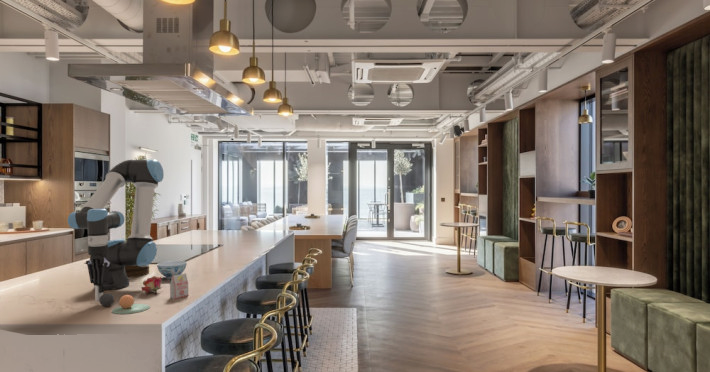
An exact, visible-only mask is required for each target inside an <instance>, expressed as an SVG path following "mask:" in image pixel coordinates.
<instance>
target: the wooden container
mask: <svg viewBox="0 0 710 372" xmlns="http://www.w3.org/2000/svg"><path fill="white" fill-rule="evenodd" d="M125 271H126V274H127V276H128V278H133V277H134V278H135V277H141V276H147V275H148V274H150V264H149V265H143V266H125Z"/></svg>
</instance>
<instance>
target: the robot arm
mask: <svg viewBox="0 0 710 372" xmlns="http://www.w3.org/2000/svg"><path fill="white" fill-rule="evenodd" d="M163 179H164V169H163V166H162V164H161V162H160V161H159V160H158V159H150V158H148V159H127V160H124V161H121V162H119V163H118V164H116V165H115V166H113V167H112V168H111V169H109V171H108V172H107V173H106V174H105V180H103V182H101V184H100V186H99V187H97V189H96V191H94V193H93V194H92V195H91V196H90V197H89V199H88V200H87V201H86V203H85V204H84V205H83V206H82V207H81V208H80V210H79V211H75V212H74V211H73V212H71V213H70V214H68V216H67V217H68V218H67V224H68V226H69V227H70V228H71V229H74V230H87V245H88V247H87V255H89V256H90V257H89V260H86V261H85V265H86V266H87V270H88V276H89V280H90V281H89V282H90V283H91V284H93V286H94V300H95V301H96V302H100V301H99V300H100V297H101V296H102V295H103V294H104V291H112V290H118V289H122V288H127V287H128V286H129V285H130V278H129V277H128V276H127V274H126V271H125V266H143V265H149V266H150V264H152V263H153V261H154V260H155V258H156V256H157V251H158V247H157V244H156V242H154V241H153V240H154V238H153V237H152V236H151V228H152V216H153V205H154V196H155V190H156V189H157V187H158V186H159V183H161V182H162V181H163ZM127 183H128V184H129V183H132V185H133V186H134V187H135V194H134V203H133V211H132V212H133V213H132V222H131V223H132V224H131V230H130V231H131V233H130V235H129V236H128V237H127V238H126V239H127V240H125V239H124V238H119V239H112V240H109V233H108V232H109V231H108V230H111V229H118V228H120V227H121V226H122V225H124V223H125V216H124V214H123V213H122V212H121V211H118V210H117V211H116V210H114V211H113V210H112V211H108V210H107V209H106V206H107V205H108V204H109V202H110V201H111V200H112V198H114V196H115V195H116V193H117V192H118V191H119V189H120V188H122V187H124V186H125V185H126V184H127Z"/></svg>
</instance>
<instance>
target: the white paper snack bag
mask: <svg viewBox="0 0 710 372" xmlns="http://www.w3.org/2000/svg"><path fill="white" fill-rule="evenodd" d="M169 292H170V293H169V296H170V298H171V299H175V300H176V299H180V298H185V297H188V296H189V280H188V277H187V273H181V274H180V275H175V276H172V279H170V284H169Z"/></svg>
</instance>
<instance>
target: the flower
mask: <svg viewBox="0 0 710 372" xmlns="http://www.w3.org/2000/svg"><path fill="white" fill-rule="evenodd" d="M161 283H162V277H161V276H155V275H153V276H151V277H148V278H147V279H146V280H143V281H142V285H143V286H141V291H142V292H143V291H144V292H145V293H146V294H150V293H154V294H155V295H156V294H158V291H159V290H161V289H162V288H163V286H162V287H161V285H162V284H161Z"/></svg>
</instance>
